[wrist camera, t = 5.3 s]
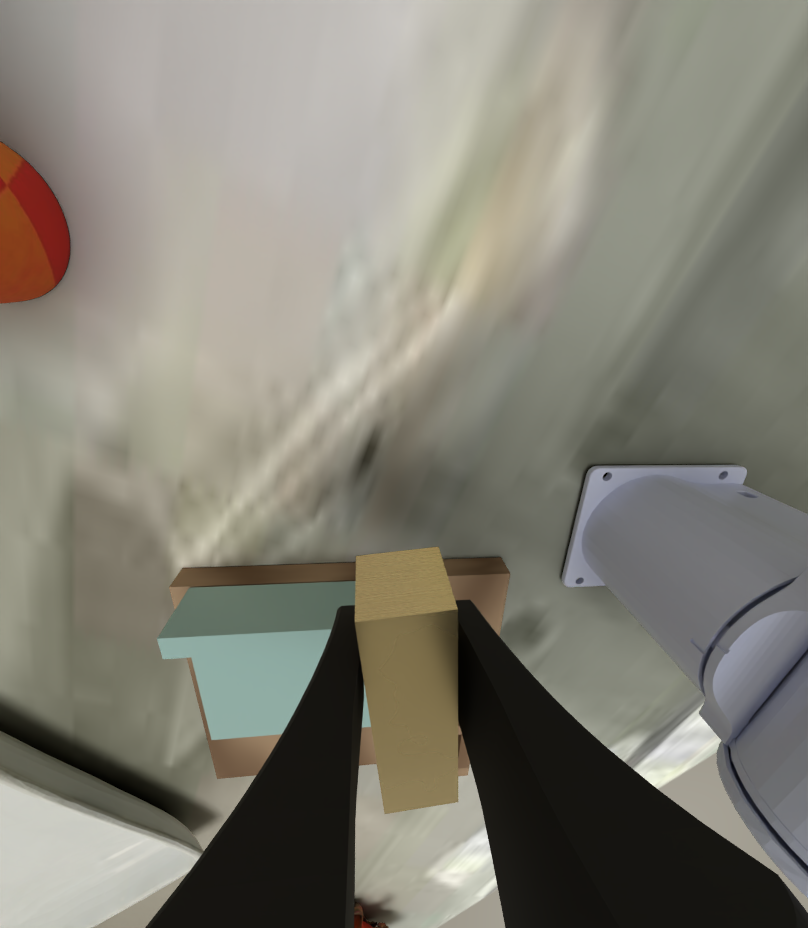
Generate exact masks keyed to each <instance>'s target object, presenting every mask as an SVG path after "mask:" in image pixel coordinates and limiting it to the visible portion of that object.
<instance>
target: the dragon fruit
mask: <svg viewBox="0 0 808 928" xmlns="http://www.w3.org/2000/svg"><path fill="white" fill-rule="evenodd" d="M376 925H377V926H378V927H376ZM354 928H389V927H388V926H386V924H385V923H380V922H379V923H378V924H377V922H369V921H367V920H366V918H365V917H364V915H363V910H362V907H361V906H360V905H359V904H358V903H355V904H354Z"/></svg>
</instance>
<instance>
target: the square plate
mask: <svg viewBox="0 0 808 928" xmlns="http://www.w3.org/2000/svg"><path fill="white" fill-rule="evenodd" d="M203 852H204V851H203V849H202V848H201V846H200V844H199V842H198V840H197V839H196V838H195V836H194V835H193V834H192V833H191V831H190V830H189V829H188V828H187V827H186V826H185V825H183V824H182V823H181V822H180V821H178V820H177V819H176V818H174V817H173V816H171V815H170V814H168V813H166V812H165V811H163V810H161V809H159V808H157V807H155V806H153V805H151V804H149V803H147V802H145V801H143V800H141V799H139V798H137V797H135V796H133V795H131V794H129V793H127V792H124V791H122V790H120V789H118V788H116V787H114V786H112V785H110V784H108V783H106V782H104V781H102V780H100V779H98V778H96V777H94V776H92V775H90V774H88V773H86V772H83V771H81V770H79V769H77V768H75V767H73V766H71V765H68V764H66V763H64V762H62V761H60V760H58V759H56V758H54V757H51V756H49V755H47V754H45V753H43V752H41V751H39V750H37V749H35V748H33V747H31V746H29V745H27V744H25V743H23V742H21V741H19V740H17V739H15V738H14V737H12V736H10V735H8V734H6V733H4V732H2V731H0V928H93V927H95V926H96V925H98V924H100V923H102V922H104V921H105V920H107V919H109V918H111V917H113V916H114V915H116V914H118V913H119V912H121V911H123V910H125V909H127V908H129V907H130V906H132V905H134V904H136V903H138V902H139V901H141V900H143V899H145V898H146V897H148V896H150V895H151V894H153V893H155V892H157V891H158V890H160V889H162V888H164V887H165V886H167V885H169V884H170V883H172V882H174V881H175V880H177V879H179V878H180V877H182V876H184V875H185V874H187V873H189V871H190V870H191V869H192V867H193V866H194V865H195V863H196V862H197V860H198V859H199V858H200V856H201V855H202V854H203Z"/></svg>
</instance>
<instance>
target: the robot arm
mask: <svg viewBox="0 0 808 928" xmlns="http://www.w3.org/2000/svg"><path fill="white" fill-rule="evenodd" d="M607 472H608V474H607V476H606V477H604V478H603V475H604V474H605V473H607ZM720 473H721V474H720ZM746 475H747V470H746V468H745V467H742V466H740V465H629V466H593V467H592V468H590V469H589V470H588V472H587V474H586V478H585V482H584V487H583V491H582V495H581V499H580V503H579V507H578V511H577V516H576V520H575V524H574V528H573V532H572V536H571V541H570V545H569V549H568V553H567V557H566V561H565V566H564V570H563V574H562V582H563V583H564V585H565V586H567V587H586V586H607V587H608V588H609V589H610V591H611V592H612V593H613V594H614V595H615V596H616V597H617V598H618V599H619V601H620V602H621V603H622V604H623V605H624V606H625V607H626V608H627V610H628V611H629V612H630V613H631V614H632V615H633V616H634V617H635V619H636V620H637V621H638V622H639V623H640V624H641V625H642V626H643V627H644V629H645V630H646V631H647V632H648V633H649V634H650V635H651V636H652V638H653V639H654V640H655V641H656V642H657V643H658V644H659V645H660V647H661V648H662V649H663V650H664V651H665V652H666V653H667V654H668V655H669V657H670V658H671V659H672V660H673V661H674V662H675V663H676V664H677V666H678V667H679V668H680V669H681V670H682V671H683V672H684V673H685V675H686V676H687V677H688V678H689V679H690V680H691V681H692V682H693V684H694V685H695V686H696V687H697V688H698V689H699V690H700V691H701V692H702V694H703V695H704V696H705V702H704V704H703V706H702V708H701V710H700V711H699V714H700V716H701V717H702V718H703V719H704V720H705V721H706V723H707V724H708V725H709V726H710V727H711V729H712V730H713V731H714V732H715V733H716V735H717V736H718V737H719V738H720V739H721V742H720V744H719V747H718V750H717V766H718V770H719V775H720V778H721V780H722V783H723V785H724V787H725V790H726V792H727V794H728V796H729V797H730V800H731V801H732V803H733V805H734V807H735V809H736V811H737V812H738V814H739V815H740V816H741V818H742V820H743V821H744V823H745V825H746V826H747V828H748V829H749V830H750V831H751V833H752V835H753V836H754V838H755V839H756V840H757V842H758V843H759V844H760V846H761V847H762V848H763V850H764V851H765V852H766V853H767V855H768V856H769V857H770V858H771V860H772V861H773V862H774V863H775V864H776V866H777V867H778V868H779V869H780V870H781V871H782V872H783V873H784V875H785V876H786V877H787V878H788V879H789V880H790V881H791V882H792V883H793V884H794V885H795V886H796V887H797V888H798V889H799V890H800V891H801V892H802V893H803V894H804V895H805V896H806V897H807V898H808V514H807V513H804V512H802V511H800V510H798V509H796V508H793V507H791V506H789V505H787V504H784V503H782V502H780V501H778V500H776V499H773V498H771V497H769V496H767V495H765V494H762V493H760V492H758V491H756V490H754V489H751V488H749V487H747V486H745V485H742V484H743V482H744V480H745V477H746ZM578 578H579V579H578ZM577 579H578V580H577ZM455 601H456V605H457V608H458V722H459V725H460V729H461V732H462V736H463V739H464V743H465V746H466V750H467V753H468V757H469V761H470V764H471V768H472V771H473V775H474V778H475V782H476V785H477V789H478V793H479V797H480V801H481V805H482V810H483V815H484V820H485V825H486V830H487V834H488V839H489V844H490V849H491V854H492V859H493V864H494V870H495V875H496V880H497V885H498V890H499V896H500V901H501V906H502V911H503V917H504V922H505V927H506V928H808V913H807V912H806V910H805V909H804V907H803V906H802V905H801V904H800V902H799V901H798V900H797V898H796V897H795V896H794V895H793V893H792V892H791V891H790V889H789V888H788V887H787V886H786V884H785V883H784V882H783V881H782V880H781V878H780V877H779V876H778V875H777V874H776V873H774V872H773V871H772V870H770V869H769V868H767V867H766V866H764V865H763V864H762V863H760V862H759V861H757V860H756V859H754V858H753V857H751V856H750V855H748V854H747V853H745V852H744V851H743V850H741V849H740V848H738V847H737V846H735V845H734V844H732V843H731V842H729V841H728V840H727V839H725V838H723V837H722V836H721V835H719V834H718V833H716V832H715V831H713V830H712V829H710V828H709V827H708V826H706V825H705V824H703V823H702V822H700V821H699V820H697V819H696V818H695V817H694V816H692V815H691V814H690V813H688V812H687V811H686V810H684V809H683V808H682V807H680V806H679V805H678V804H676V803H675V802H674V801H672V800H671V799H670V798H668V797H667V796H666V795H664V794H663V793H662V792H660V791H659V790H658V789H657V788H655V787H654V786H653V785H652V784H650V783H649V782H648V781H647V780H645V779H644V778H643V777H642V776H641V775H639V774H638V773H637V772H636V771H634V770H633V769H632V768H631V767H630V766H628V765H627V764H626V763H625V762H623V761H622V760H621V759H620V758H619V757H617V756H616V755H615V754H614V753H612V752H611V751H610V750H609V749H608V748H607V747H605V746H604V745H603V744H602V743H601V742H600V741H599V740H598V739H597V738H595V737H594V736H593V735H592V734H591V733H590V732H589V731H588V730H586V729H585V728H584V727H583V726H582V725H581V724H580V723H579V722H578V721H577V720H576V719H575V718H574V717H573V716H572V715H571V714H569V713H568V712H567V711H566V710H565V709H564V708H563V707H562V706H561V705H560V704H559V703H558V702H557V701H556V700H555V699H554V698H553V697H552V696H551V695H550V693H549V692H548V691H547V690H546V689H545V688H544V687H543V686H542V685H541V684H540V683H539V682H538V681H537V680H536V679H535V678H534V676H533V675H532V674H531V673H530V672H529V671H528V670H527V669H526V668H525V666H524V665H523V664H522V663H521V662H520V661H519V659H518V658H517V657H516V656H515V655H514V654H513V652H512V651H511V650H510V649H509V648H508V647H507V645H506V644H505V643H504V642H503V641H502V639H501V638H500V637H499V636H498V634H497V633H496V632H495V631H494V629H493V628H492V627H491V625H490V624H489V623H488V622H487V620H486V619H485V618H484V616H483V615H482V614H481V612H480V611H479V610H478V608H477V607H476V606H475V604H474V603H473V602H472V601H471V600H455ZM363 706H364V679H363V672H362V666H361V660H360V653H359V647H358V641H357V634H356V628H355V605H346V606H340V607H339V608H338V609H337V613H336V617H335V621H334V624H333V627H332V630H331V633H330V636H329V638H328V641H327V644H326V646H325V649H324V651H323V653H322V656H321V658H320V660H319V663H318V665H317V667H316V669H315V672H314V674H313V676H312V678H311V680H310V682H309V684H308V686H307V688H306V690H305V692H304V694H303V696H302V698H301V700H300V702H299V704H298V706H297V708H296V710H295V712H294V714H293V715H292V717H291V719H290V721H289V723H288V724H287V726H286V728H285V730H284V732H283V733H282V735H281V737H280V738H279V740H278V742H277V743H276V745H275V747H274V748H273V750H272V752H271V754H270V755H269V757H268V758H267V760H266V762H265V763H264V765H263V766H262V768H261V769H260V771H259V772H258V774H257V776H256V777H255V779H254V780H253V782H252V783H251V785H250V787H249V788H248V790H247V791H246V793H245V794H244V796H243V797H242V799H241V800H240V802H239V803H238V805H237V806H236V807H235V809H234V810H233V812H232V813H231V815H230V816H229V818H228V819H227V820H226V822H225V823H224V824H223V826H222V827H221V829H220V830H219V831H218V833H217V834H216V836H215V837H214V838H213V840H212V841H211V842H210V844H209V845H208V847H207V848H206V849H205V851H204V852H203V854H202V855H201V856H200V858H199V859H198V860H197V862H196V863H195V865H194V866H193V867H192V869H191V870H190V871H189V873H188V874H187V875H186V877H185V878H184V879H183V881H182V882H181V883H180V885H179V886H178V887H177V888H176V890H175V891H174V892H173V893H172V895H171V896H170V897H169V899H168V900H167V901H166V902H165V904H164V905H163V906H162V907H161V909H160V910H159V911H158V912H157V914H156V915H155V916H154V917H153V919H152V920H151V921H150V923H149V924H148V925H147V926H146V928H354V893H355V815H356V796H357V783H358V770H359V757H360V745H361V732H362V719H363Z"/></svg>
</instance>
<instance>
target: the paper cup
mask: <svg viewBox="0 0 808 928" xmlns="http://www.w3.org/2000/svg"><path fill="white" fill-rule="evenodd" d="M69 256H70V238H69V232H68V227H67V223H66V220H65V217H64V214H63V212H62V209H61V207H60V205H59V203H58V201H57V199H56V197H55V196H54V194H53V192H52V191H51V189H50V188H49V186H48V185H47V184H46V182H45V181H44V180H43V178H42V177H41V176H40V175H39V174H38V173H37V171H36V170H35V169H34V168H33V167H32V166H31V165H30V164H29V163H28V162H27V161H25V160H24V159H23V158H22V157H21V156H20V155H18V154H17V153H16V152H14V151H13V150H12V149H10V148H9V147H8V146H6V145H5V144H3V143H2V142H0V303H11V302H20V301H26V300H30V299H34V298H37V297H40V296H42V295H44V294H46V293H48V292H49V291H51V290H52V289H53V288H54V287H55V286H56V285H57V284H58V283H59V282H60V280H61V279H62V277H63V275H64V273H65V271H66V269H67V266H68V262H69Z"/></svg>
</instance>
